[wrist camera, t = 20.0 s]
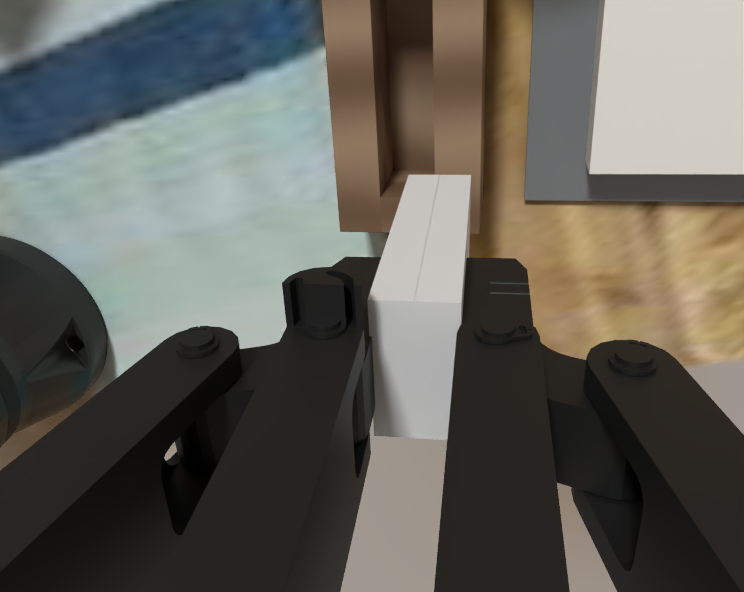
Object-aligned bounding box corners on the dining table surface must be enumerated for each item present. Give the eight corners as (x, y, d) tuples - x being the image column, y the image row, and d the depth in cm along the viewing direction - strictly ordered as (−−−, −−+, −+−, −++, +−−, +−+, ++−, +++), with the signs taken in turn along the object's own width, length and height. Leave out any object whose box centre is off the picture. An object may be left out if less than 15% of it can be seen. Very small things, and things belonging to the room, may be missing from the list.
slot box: (483, 197, 45) (479, 233, 40) (359, 196, 46) (340, 231, 41) (488, -89, 37) (484, -91, 32) (341, -80, 39) (315, -80, 34)
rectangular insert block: (585, 161, 42) (863, 160, 39) (589, 174, 40) (883, 174, 37) (603, -43, 37) (923, -59, 34) (608, -41, 35) (950, -58, 32)
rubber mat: (878, 201, 41) (881, 203, 40) (524, 198, 44) (524, 200, 44) (971, -120, 33) (976, -121, 33) (538, -92, 37) (538, -93, 37)
